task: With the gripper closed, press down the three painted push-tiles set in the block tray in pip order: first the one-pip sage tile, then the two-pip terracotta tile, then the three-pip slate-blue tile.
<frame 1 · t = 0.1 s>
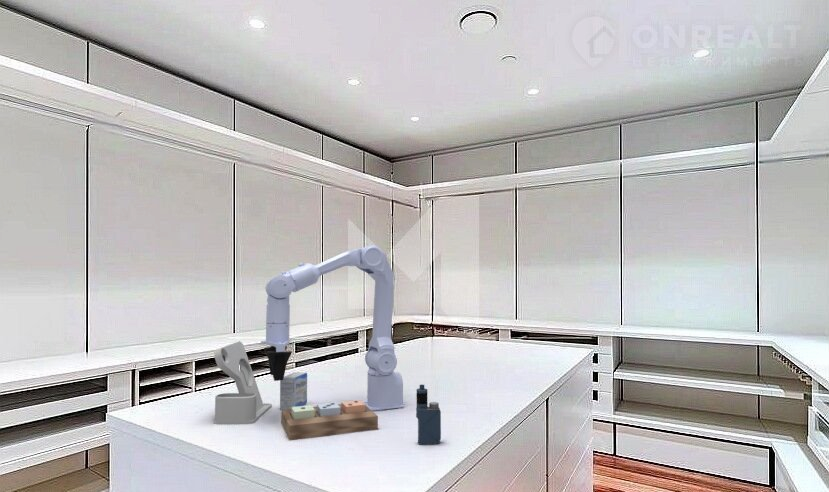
hand: (276, 377, 119), 10 cm above the counter, tool pointing down, fingers open, 7 cm apart
medicine box: (293, 407, 129), on the counter
tile 2: (353, 407, 114), point 4 cm above the counter, slide at 0.0 cm
tile 1: (302, 412, 110), point 4 cm above the counter, slide at 0.0 cm
block tray: (328, 425, 112), on the counter
phone holder: (243, 415, 121), on the counter
tile 3: (328, 409, 112), point 4 cm above the counter, slide at 0.0 cm
vaping device: (428, 443, 100), on the counter
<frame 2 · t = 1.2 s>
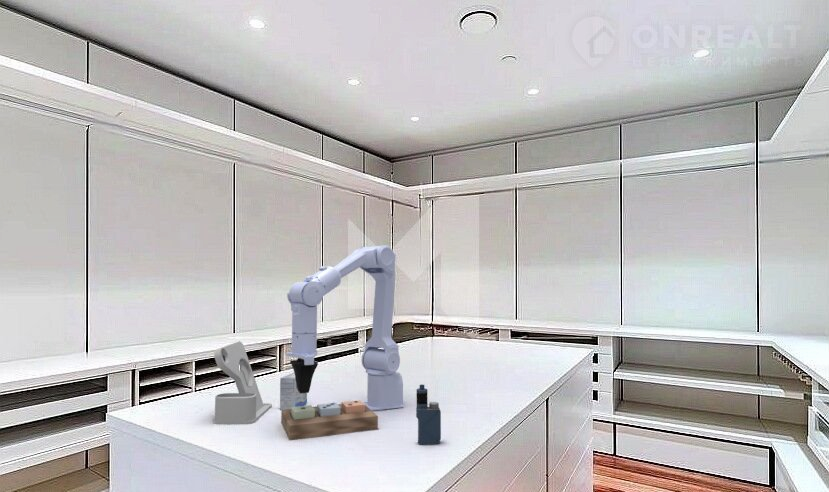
hand: (303, 391, 110), 8 cm above the counter, tool pointing down, fingers closed
nothing on the counter moved.
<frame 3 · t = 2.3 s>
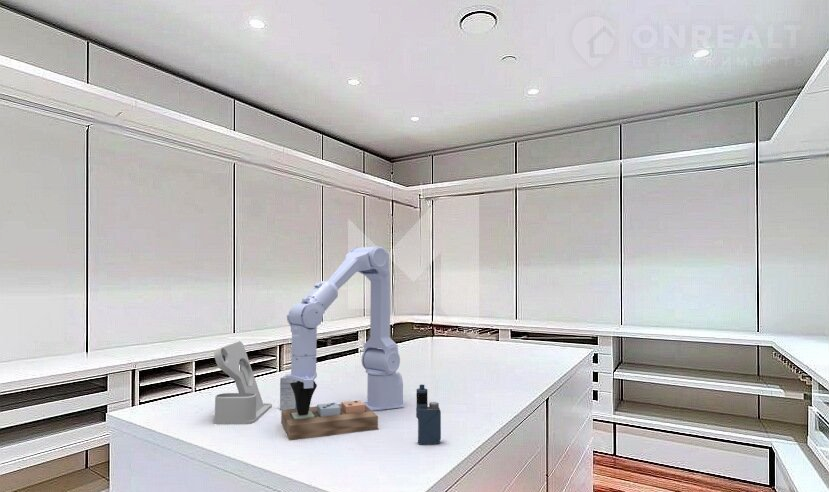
hand: (302, 414, 109), 3 cm above the counter, tool pointing down, fingers closed, pressing on tile 1
tile 1: (302, 418, 109), point 2 cm above the counter, slide at 1.4 cm, touching gripper
everything else where it was.
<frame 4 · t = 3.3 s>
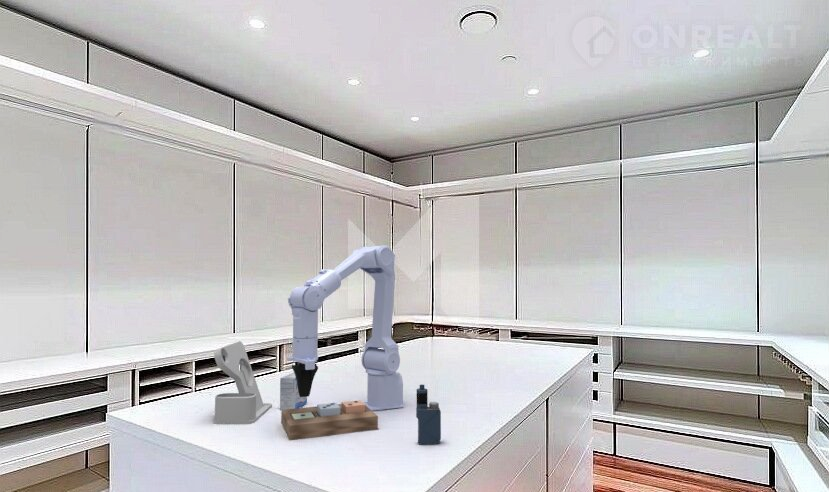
hand: (304, 396, 110), 7 cm above the counter, tool pointing down, fingers closed
tile 1: (302, 419, 109), point 2 cm above the counter, slide at 1.6 cm, touching block tray
everything else where it was.
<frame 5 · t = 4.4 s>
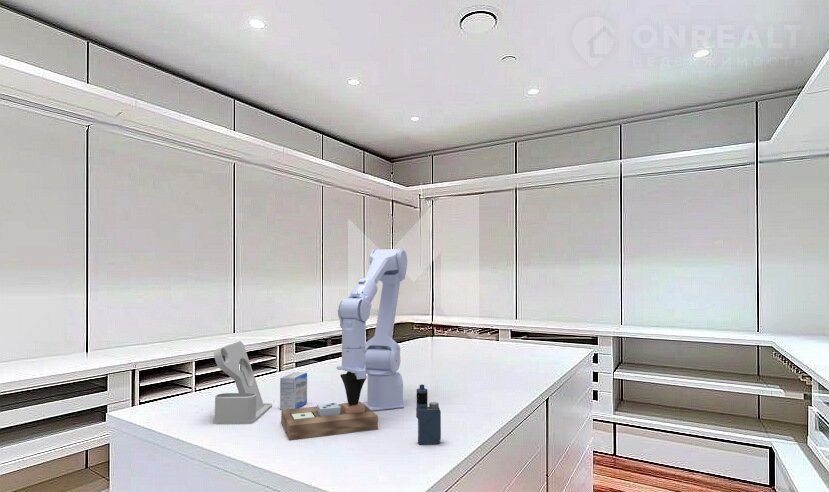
hand: (353, 404, 114), 4 cm above the counter, tool pointing down, fingers closed, pressing on tile 2
tile 2: (353, 408, 114), point 3 cm above the counter, slide at 0.3 cm, touching gripper
everything else where it was.
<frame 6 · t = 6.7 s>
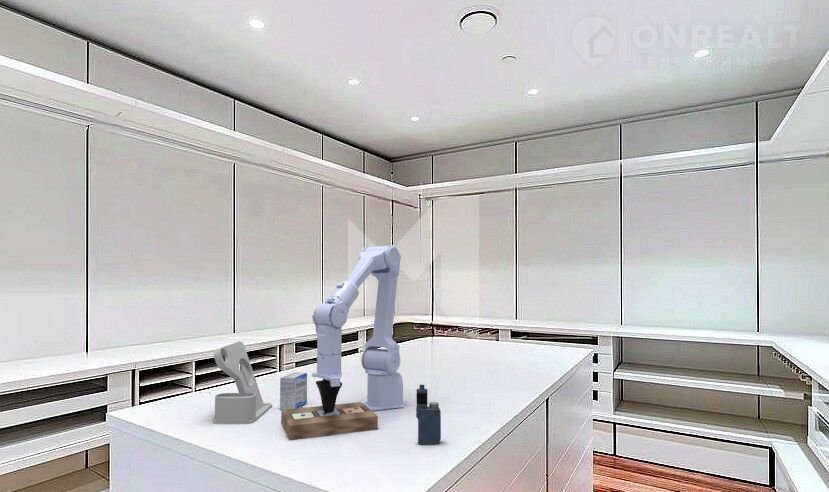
hand: (328, 411, 112), 3 cm above the counter, tool pointing down, fingers closed, pressing on tile 3
tile 2: (353, 414, 114), point 2 cm above the counter, slide at 1.6 cm, touching block tray
tile 3: (328, 416, 112), point 2 cm above the counter, slide at 1.5 cm, touching gripper
everything else where it was.
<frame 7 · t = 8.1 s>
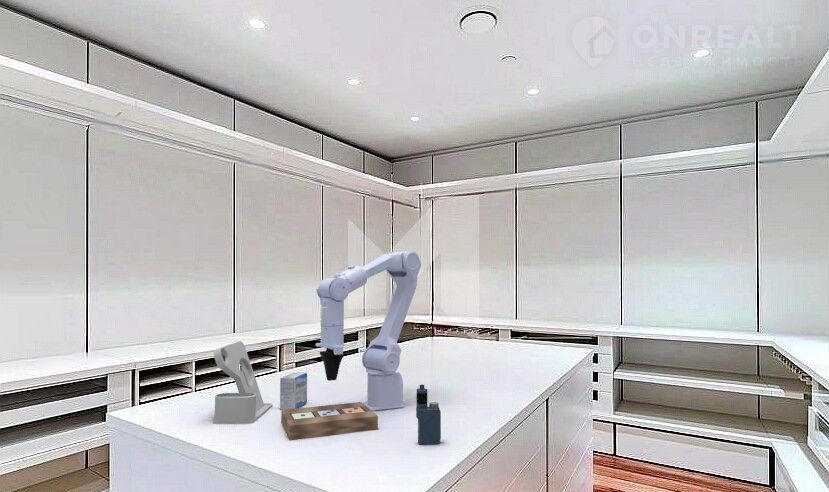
hand: (331, 379, 119), 9 cm above the counter, tool pointing down, fingers closed
tile 3: (328, 416, 112), point 2 cm above the counter, slide at 1.6 cm, touching block tray
everything else where it was.
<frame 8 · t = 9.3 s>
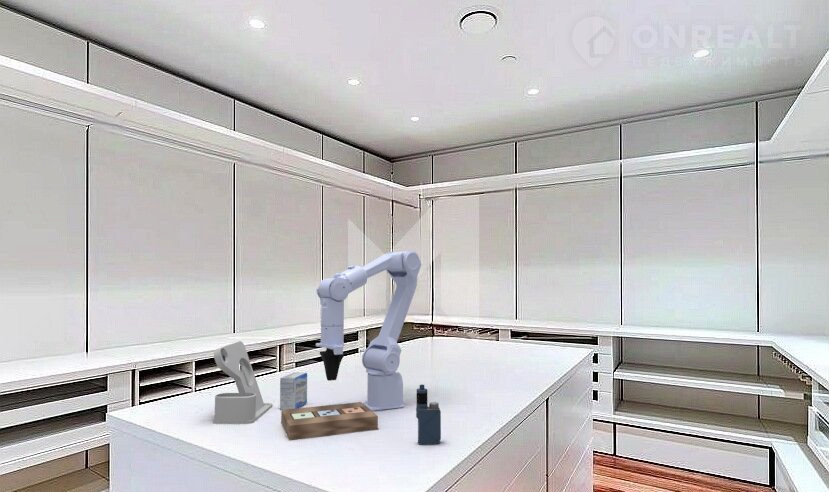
hand: (331, 379, 119), 9 cm above the counter, tool pointing down, fingers closed
nothing on the counter moved.
at the end: tile 1 slide at 1.6 cm; tile 2 slide at 1.6 cm; tile 3 slide at 1.6 cm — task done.
